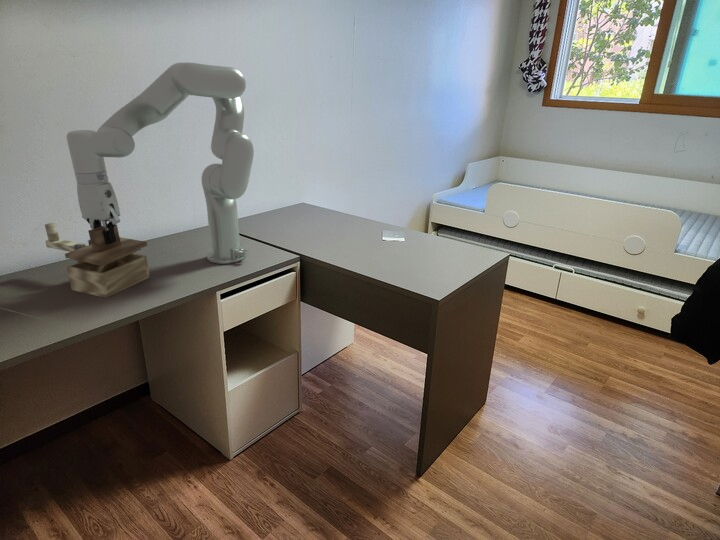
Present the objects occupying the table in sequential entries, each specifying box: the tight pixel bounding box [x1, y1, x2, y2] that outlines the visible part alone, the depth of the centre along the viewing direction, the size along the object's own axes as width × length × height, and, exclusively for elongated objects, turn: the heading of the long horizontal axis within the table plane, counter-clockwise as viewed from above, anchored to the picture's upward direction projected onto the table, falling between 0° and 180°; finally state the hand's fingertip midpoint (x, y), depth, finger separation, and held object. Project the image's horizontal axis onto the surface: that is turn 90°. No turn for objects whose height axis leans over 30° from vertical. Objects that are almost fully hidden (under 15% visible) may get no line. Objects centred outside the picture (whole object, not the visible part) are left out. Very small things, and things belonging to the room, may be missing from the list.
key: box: [44, 222, 87, 253], centre depth 139 cm, size 13×3×7 cm, turn 69°
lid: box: [64, 224, 148, 266], centre depth 133 cm, size 13×16×8 cm
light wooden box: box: [66, 239, 150, 299], centre depth 136 cm, size 15×16×12 cm
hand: (105, 241), depth 133 cm, fingers closed on lid, 3 cm apart
